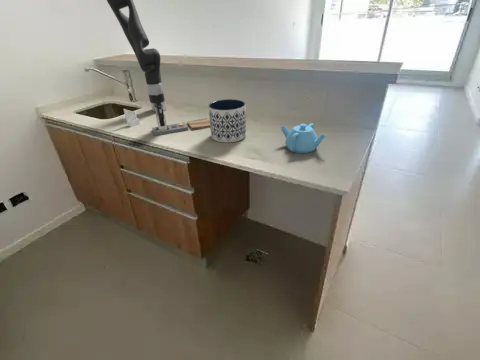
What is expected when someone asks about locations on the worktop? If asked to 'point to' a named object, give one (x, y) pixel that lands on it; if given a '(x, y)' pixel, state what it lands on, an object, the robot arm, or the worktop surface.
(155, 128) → the grey panel with cutout
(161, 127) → the block
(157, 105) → the robot arm
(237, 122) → the planter
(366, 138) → the worktop surface
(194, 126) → the walnut board
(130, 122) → the crumpled white paper
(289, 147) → the teapot
